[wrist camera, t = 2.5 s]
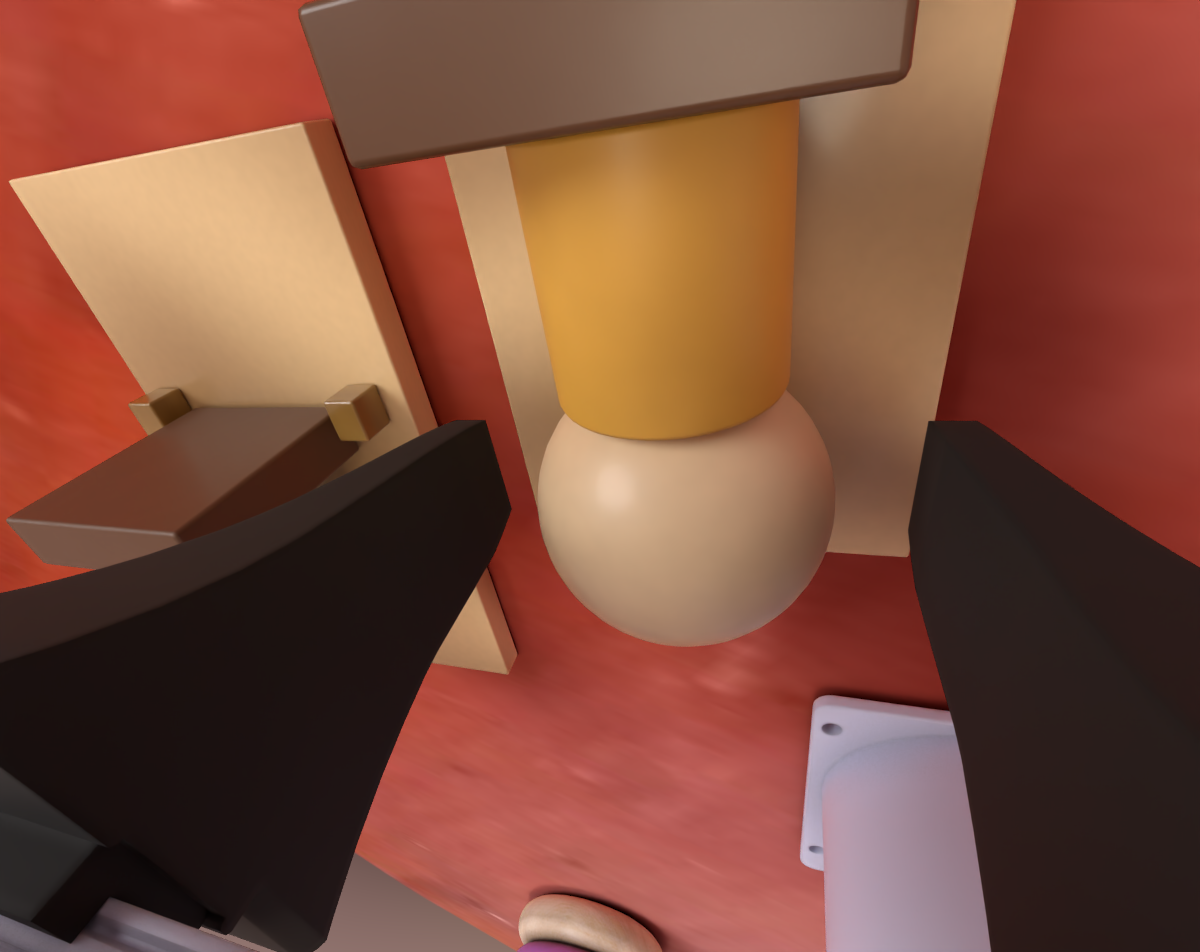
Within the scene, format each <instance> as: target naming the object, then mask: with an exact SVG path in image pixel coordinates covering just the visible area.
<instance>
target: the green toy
mask: <svg viewBox="0 0 1200 952" xmlns="http://www.w3.org/2000/svg"><path fill="white" fill-rule="evenodd" d="M358 450H359V446H358V444H357V442H356V441H342V440H340V438H339V436H338V434H337V432H336V430H335V427H334V425H333V423H332V421H331V419H330V417H329V414H328V412H327V410H326V408H325V407H268V408H195V409H193V410H191V411H190V412H188V413H186V414H185V415H183V416H181V417H179V418H178V419H176V420H174V421H173V422H171V423H169V424H167V425H166V426H164V427H162V428H161V429H159V430H157V431H155V432H154V433H152V434H150V435H149V436H147V437H145V438H143V439H142V440H140V441H138V442H137V443H135V444H133V445H131V446H130V447H128V448H126V449H125V450H123V451H121V452H119V453H118V454H116V455H114V456H113V457H111V458H109V459H107V460H106V461H104V462H102V463H101V464H99V465H97V466H95V467H94V468H92V469H90V470H89V471H87V472H85V473H83V474H82V475H80V476H78V477H77V478H75V479H73V480H71V481H70V482H68V483H66V484H65V485H63V486H61V487H59V488H58V489H56V490H54V491H53V492H51V493H49V494H47V495H46V496H44V497H42V498H41V499H39V500H37V501H36V502H34V503H32V504H30V505H29V506H27V507H25V508H24V509H22V510H20V511H18V512H17V513H15V514H13V515H12V516H10V517H8V518H7V520H6V521H7V523H8V524H9V525H10V526H11V528H12V529H13V530H14V531H15V532H16V533H17V534H18V535H19V536H20V537H21V538H22V539H23V541H24V542H25V543H26V544H27V545H28V546H29V547H30V548H31V549H32V550H33V551H34V552H35V554H36V555H37V556H38V557H39V558H40V559H41V560H42V561H43V562H44V563H47V564H54V565H62V566H71V567H79V568H87V569H96V570H97V569H101V568H104V567H108V566H111V565H114V564H118V563H121V562H125V561H128V560H132V559H135V558H138V557H142V556H145V555H148V554H151V553H154V552H157V551H160V550H163V549H166V548H169V547H172V546H174V545H177V544H180V543H183V542H186V541H189V540H192V539H195V538H198V537H201V536H204V535H207V534H210V533H213V532H215V531H218V530H221V529H223V528H226V527H229V526H231V525H234V524H236V523H239V522H241V521H244V520H246V519H249V518H251V517H254V516H256V515H259V514H261V513H263V512H266V511H268V510H270V509H273V508H275V507H277V506H280V505H282V504H284V503H286V502H289V501H291V500H293V499H295V498H297V497H299V496H301V495H303V494H306V493H308V492H310V491H312V490H314V489H316V488H317V487H318V486H319V485H320V484H321V483H322V482H324V481H325V480H326V479H327V478H328V477H329V476H330V475H331V474H332V473H334V472H335V471H336V470H337V469H338V468H339V467H340V466H341V465H343V464H344V463H345V462H346V461H347V460H348V459H349V458H350V457H352V456H353V455H354V454H355V453H356V452H357V451H358Z"/></svg>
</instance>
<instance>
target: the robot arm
mask: <svg viewBox="0 0 1200 952" xmlns="http://www.w3.org/2000/svg"><path fill="white" fill-rule="evenodd" d="M511 510H512V508H511V505H510V501H509V498H508V495H507V491H506V488H505V485H504V481H503V478H502V475H501V471H500V468H499V464H498V461H497V458H496V454H495V451H494V448H493V444H492V441H491V438H490V434H489V431H488V427H487V424H486V421H485V420H456V421H453V422H450V423H447V424H444V425H442V426H440V427H437V428H435V429H433V430H431V431H429V432H426V433H424V434H422V435H420V436H418V437H416V438H414V439H412V440H410V441H408V442H406V443H404V444H403V445H401V446H399V447H397V448H395V449H393V450H391V451H389V452H387V453H385V454H383V455H381V456H379V457H378V458H376V459H374V460H372V461H370V462H368V463H366V464H364V465H362V466H360V467H358V468H356V469H354V470H353V471H351V472H349V473H346V474H344V475H342V476H340V477H338V478H336V479H334V480H332V481H330V482H328V483H326V484H324V485H322V486H320V487H318V488H316V489H314V490H312V491H310V492H308V493H306V494H303V495H301V496H299V497H297V498H295V499H293V500H291V501H289V502H286V503H284V504H282V505H280V506H277V507H275V508H273V509H270V510H268V511H266V512H263V513H261V514H259V515H256V516H254V517H251V518H249V519H246V520H244V521H241V522H239V523H236V524H234V525H231V526H229V527H226V528H223V529H221V530H218V531H215V532H213V533H210V534H207V535H204V536H201V537H198V538H195V539H192V540H189V541H186V542H183V543H180V544H177V545H174V546H172V547H169V548H166V549H163V550H160V551H157V552H154V553H151V554H148V555H145V556H142V557H138V558H135V559H132V560H128V561H125V562H121V563H118V564H114V565H111V566H108V567H104V568H101V569H97V570H93V571H89V572H86V573H82V574H78V575H75V576H71V577H67V578H63V579H60V580H56V581H51V582H47V583H43V584H39V585H35V586H31V587H27V588H22V589H18V590H13V591H8V592H4V593H0V952H258V951H255V950H253V949H250V948H247V947H245V946H242V945H239V944H236V943H234V942H231V941H228V940H226V939H223V938H220V937H217V936H215V935H212V934H209V933H207V932H204V931H201V930H199V928H200V927H201V926H202V927H204V928H207V929H210V930H213V931H215V932H218V933H221V934H224V935H227V934H230V935H233V936H236V937H238V938H241V939H244V940H246V941H249V942H252V943H255V944H257V945H260V946H263V947H266V948H268V949H271V950H274V951H277V952H313V951H315V950H317V949H318V948H319V947H320V946H321V945H322V944H323V943H324V942H325V941H326V940H327V936H328V933H329V930H330V926H331V923H332V920H333V916H334V913H335V910H336V907H337V904H338V901H339V898H340V895H341V892H342V889H343V885H344V882H345V879H346V876H347V873H348V870H349V867H350V864H351V861H352V858H353V855H354V852H355V849H356V845H357V842H358V840H359V837H360V834H361V832H362V829H363V826H364V823H365V821H366V818H367V815H368V813H369V810H370V807H371V804H372V802H373V799H374V796H375V794H376V791H377V788H378V785H379V783H380V780H381V777H382V775H383V772H384V770H385V768H386V765H387V763H388V760H389V758H390V755H391V753H392V750H393V748H394V746H395V743H396V741H397V738H398V736H399V733H400V731H401V729H402V726H403V724H404V721H405V719H406V717H407V715H408V713H409V710H410V708H411V706H412V704H413V701H414V699H415V697H416V695H417V692H418V690H419V688H420V686H421V684H422V681H423V679H424V677H425V675H426V673H427V671H428V669H429V667H430V665H431V663H432V661H433V660H434V658H435V656H436V654H437V652H438V650H439V648H440V647H441V645H442V643H443V642H444V640H445V638H446V637H447V635H448V633H449V631H450V630H451V628H452V626H453V625H454V623H455V621H456V619H457V618H458V616H459V614H460V613H461V611H462V609H463V607H464V606H465V604H466V602H467V601H468V599H469V597H470V596H471V594H472V592H473V590H474V589H475V587H476V585H477V583H478V582H479V580H480V578H481V576H482V575H483V573H484V571H485V569H486V568H487V566H488V564H489V562H490V560H491V559H492V557H493V555H494V553H495V551H496V548H497V546H498V544H499V541H500V539H501V536H502V534H503V531H504V529H505V526H506V523H507V520H508V518H509V515H510V512H511ZM908 536H909V545H910V553H911V562H912V569H913V576H914V583H915V589H916V593H917V597H918V600H919V604H920V608H921V611H922V615H923V619H924V622H925V626H926V629H927V633H928V637H929V640H930V644H931V647H932V651H933V654H934V658H935V661H936V665H937V668H938V672H939V676H940V679H941V683H942V686H943V690H944V693H945V697H946V700H947V704H948V707H949V711H944V710H937V709H930V708H922V707H915V706H908V705H901V704H894V703H886V702H879V701H872V700H865V699H858V698H850V697H843V696H836V695H825V696H821V697H819V698H817V699H816V700H815V701H814V703H813V710H812V721H811V733H810V744H809V755H808V766H807V778H806V789H805V800H804V811H803V823H802V834H801V845H800V859H801V862H802V863H803V864H804V865H806V866H808V867H809V868H813V869H816V870H821V871H824V891H825V925H826V952H1200V567H1198V566H1196V565H1195V564H1193V563H1191V562H1189V561H1188V560H1186V559H1184V558H1182V557H1181V556H1179V555H1177V554H1175V553H1174V552H1172V551H1170V550H1169V549H1167V548H1166V547H1164V546H1162V545H1161V544H1159V543H1157V542H1156V541H1154V540H1153V539H1151V538H1149V537H1148V536H1146V535H1144V534H1143V533H1141V532H1139V531H1138V530H1136V529H1135V528H1133V527H1131V526H1130V525H1128V524H1126V523H1125V522H1123V521H1122V520H1120V519H1119V518H1117V517H1115V516H1114V515H1112V514H1111V513H1109V512H1108V511H1106V510H1105V509H1103V508H1102V507H1100V506H1099V505H1097V504H1096V503H1094V502H1093V501H1091V500H1090V499H1088V498H1087V497H1085V496H1084V495H1082V494H1081V493H1079V492H1078V491H1076V490H1075V489H1074V488H1072V487H1071V486H1069V485H1068V484H1066V483H1065V482H1063V481H1062V480H1061V479H1059V478H1058V477H1056V476H1055V475H1053V474H1052V473H1051V472H1049V471H1048V470H1046V469H1045V468H1044V467H1042V466H1041V465H1039V464H1038V463H1037V462H1035V461H1034V460H1033V459H1031V458H1030V457H1028V456H1027V455H1026V454H1024V453H1023V452H1022V451H1020V450H1019V449H1017V448H1016V447H1015V446H1013V445H1012V444H1010V443H1009V442H1008V441H1006V440H1005V439H1003V438H1002V437H1001V436H999V435H998V434H996V433H995V432H994V431H992V430H991V429H989V428H988V427H986V426H985V425H983V424H981V423H980V422H978V421H928V426H927V431H926V436H925V442H924V447H923V452H922V457H921V463H920V468H919V473H918V479H917V484H916V489H915V495H914V500H913V505H912V511H911V516H910V521H909V526H908Z"/></svg>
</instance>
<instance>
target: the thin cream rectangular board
mask: <svg viewBox="0 0 1200 952" xmlns="http://www.w3.org/2000/svg"><path fill="white" fill-rule="evenodd" d="M9 183H10V185H11V186H12V188H13V189H14V191H15V192H16V194H17V195H18V197H19V199H20V200H21V202H22V203H23V205H24V206H25V208H26V209H27V211H28V212H29V214H30V216H31V217H32V219H33V220H34V222H35V223H36V225H37V226H38V228H39V229H40V231H41V233H42V234H43V236H44V237H45V239H46V240H47V242H48V243H49V245H50V247H51V248H52V250H53V251H54V253H55V254H56V256H57V257H58V259H59V260H60V262H61V264H62V265H63V267H64V268H65V270H66V271H67V273H68V274H69V276H70V277H71V279H72V281H73V282H74V284H75V285H76V287H77V288H78V290H79V291H80V293H81V294H82V296H83V298H84V299H85V301H86V302H87V304H88V305H89V307H90V308H91V310H92V312H93V313H94V315H95V316H96V318H97V319H98V321H99V322H100V324H101V325H102V327H103V329H104V330H105V332H106V333H107V335H108V336H109V338H110V339H111V341H112V342H113V344H114V346H115V347H116V349H117V350H118V352H119V353H120V355H121V356H122V358H123V359H124V361H125V363H126V364H127V366H128V367H129V369H130V370H131V372H132V373H133V375H134V377H135V378H136V380H137V381H138V383H139V384H140V386H141V387H142V389H143V390H144V392H145V394H146V395H144V396H142V397H140V398H138V399H136V400H134V401H132V402H130V403H129V404H128V406H129V408H130V409H131V411H132V412H133V414H134V415H135V417H136V418H137V419H138V421H139V422H140V424H141V425H142V427H143V428H144V430H145V431H146V433H147V434H148V436H149V435H150V434H152V433H154V432H155V431H157V430H159V429H161V428H162V427H164V426H166V425H167V424H169V423H171V422H173V421H174V420H176V419H178V418H179V417H181V416H183V415H185V414H186V413H188V412H190V411H191V410H193V409H195V408H268V407H325V408H326V410H327V412H328V414H329V417H330V419H331V421H332V423H333V425H334V427H335V430H336V432H337V434H338V436H339V438H340V440H342V441H356V442H357V444H358V446H359V450H358V451H357V452H356V453H355V454H354V455H353V456H352V457H350V458H349V459H348V460H347V461H346V462H345V463H344V464H343V465H341V466H340V467H339V468H338V469H337V470H336V471H335V472H334V473H332V474H331V475H330V476H329V477H328V478H327V479H326V480H325V481H324V482H322V483H321V484H320V485H319V486H318V487H320V486H322V485H324V484H326V483H328V482H330V481H332V480H334V479H336V478H338V477H340V476H342V475H344V474H346V473H349V472H351V471H353V470H354V469H356V468H358V467H360V466H362V465H364V464H366V463H368V462H370V461H372V460H374V459H376V458H378V457H379V456H381V455H383V454H385V453H387V452H389V451H391V450H393V449H395V448H397V447H399V446H401V445H403V444H404V443H406V442H408V441H410V440H412V439H414V438H416V437H418V436H420V435H422V434H424V433H426V432H429V431H431V430H433V429H435V428H437V427H438V425H437V422H436V419H435V417H434V414H433V411H432V408H431V405H430V402H429V399H428V397H427V394H426V391H425V388H424V385H423V382H422V379H421V376H420V374H419V371H418V368H417V365H416V362H415V359H414V356H413V354H412V351H411V348H410V345H409V342H408V339H407V336H406V334H405V331H404V328H403V325H402V322H401V319H400V316H399V313H398V311H397V308H396V305H395V302H394V299H393V296H392V293H391V291H390V288H389V285H388V282H387V279H386V276H385V273H384V270H383V268H382V265H381V262H380V259H379V256H378V253H377V250H376V248H375V245H374V242H373V239H372V236H371V233H370V230H369V227H368V225H367V222H366V219H365V216H364V213H363V210H362V207H361V205H360V202H359V199H358V196H357V193H356V190H355V187H354V185H353V182H352V179H351V176H350V173H349V170H348V167H347V164H346V162H345V159H344V156H343V153H342V150H341V147H340V144H339V142H338V139H337V136H336V133H335V130H334V127H333V124H332V122H331V120H330V119H321V120H314V121H306V122H299V123H294V124H289V125H284V126H279V127H274V128H269V129H264V130H259V131H254V132H249V133H244V134H239V135H234V136H229V137H224V138H219V139H214V140H209V141H204V142H199V143H194V144H189V145H184V146H179V147H174V148H169V149H164V150H158V151H153V152H148V153H143V154H138V155H133V156H128V157H123V158H118V159H113V160H108V161H103V162H98V163H93V164H88V165H83V166H78V167H73V168H68V169H63V170H58V171H53V172H48V173H43V174H38V175H33V176H28V177H23V178H18V179H12V180H10V181H9ZM318 487H317V488H318ZM516 657H517V652H516V649H515V646H514V643H513V640H512V637H511V634H510V631H509V629H508V626H507V623H506V620H505V617H504V614H503V611H502V609H501V606H500V603H499V600H498V597H497V594H496V591H495V589H494V586H493V583H492V580H491V577H490V574H489V571H488V568H486V569H485V571H484V573H483V575H482V576H481V578H480V580H479V582H478V583H477V585H476V587H475V589H474V590H473V592H472V594H471V596H470V597H469V599H468V601H467V602H466V604H465V606H464V607H463V609H462V611H461V613H460V614H459V616H458V618H457V619H456V621H455V623H454V625H453V626H452V628H451V630H450V631H449V633H448V635H447V637H446V638H445V640H444V642H443V643H442V645H441V647H440V648H439V650H438V652H437V654H436V656H435V658H434V660H433V661H432V663H436V664H443V665H449V666H456V667H462V668H469V669H475V670H482V671H488V672H495V673H501V674H509V672H510V670H511V668H512V666H513V664H514V661H515V659H516Z"/></svg>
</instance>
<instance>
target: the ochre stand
mask: <svg viewBox="0 0 1200 952" xmlns="http://www.w3.org/2000/svg"><path fill="white" fill-rule="evenodd" d="M1015 5H1016V0H919V8H918V16H917V25H916V33H915V41H914V49H913V57H912V66H911V68H910V70H909V72H908V74H907V76H906V78H904V79H903V80H901V81H899V82H897V83H896V84H890V85H884V86H878V87H871V88H865V89H859V90H853V91H846V92H840V93H834V94H828V95H822V96H815V97H809V98H803V99H800V107H799V136H798V165H797V193H796V222H795V251H794V279H793V308H792V337H791V365H790V379H789V384H788V386H787V388H786V390H787V391H788V392H789V393H790V394H791V395H792V396H793V397H794V398H795V399H796V400H797V401H798V402H799V403H800V404H801V406H802V407H803V408H804V410H805V411H806V412H807V414H808V415H809V416H810V418H811V419H812V421H813V423H814V424H815V426H816V428H817V430H818V432H819V434H820V436H821V438H822V440H823V442H824V444H825V446H826V449H827V452H828V455H829V458H830V461H831V466H832V471H833V477H834V483H835V518H834V524H833V529H832V534H831V538H830V541H829V545H828V548H827V550H826V552H835V553H850V554H864V555H879V556H894V557H908V555H909V551H910V545H909V536H908V526H909V521H910V516H911V511H912V505H913V500H914V495H915V489H916V484H917V479H918V473H919V468H920V463H921V457H922V452H923V447H924V442H925V436H926V431H927V426H928V421H935V417H936V412H937V407H938V402H939V397H940V392H941V387H942V381H943V376H944V371H945V366H946V361H947V356H948V351H949V345H950V340H951V335H952V330H953V325H954V320H955V314H956V309H957V304H958V299H959V294H960V289H961V284H962V278H963V273H964V268H965V263H966V258H967V253H968V247H969V242H970V237H971V232H972V227H973V222H974V217H975V211H976V206H977V201H978V196H979V191H980V186H981V181H982V175H983V170H984V165H985V160H986V155H987V150H988V144H989V139H990V134H991V129H992V124H993V119H994V114H995V108H996V103H997V98H998V93H999V88H1000V83H1001V78H1002V72H1003V67H1004V62H1005V57H1006V52H1007V47H1008V41H1009V36H1010V31H1011V26H1012V21H1013V16H1014V11H1015ZM505 147H506V146H503V147H497V148H491V149H485V150H478V151H472V152H466V153H460V154H453V155H447V156H445V160H446V163H447V167H448V171H449V175H450V179H451V182H452V186H453V190H454V194H455V198H456V201H457V205H458V209H459V213H460V217H461V220H462V224H463V228H464V232H465V235H466V239H467V243H468V247H469V251H470V254H471V258H472V262H473V266H474V270H475V273H476V277H477V281H478V285H479V289H480V292H481V296H482V300H483V304H484V308H485V311H486V315H487V319H488V323H489V327H490V330H491V334H492V338H493V342H494V345H495V349H496V353H497V357H498V361H499V364H500V368H501V372H502V376H503V380H504V383H505V387H506V391H507V395H508V399H509V402H510V406H511V410H512V414H513V418H514V421H515V425H516V429H517V433H518V437H519V440H520V444H521V448H522V452H523V455H524V459H525V463H526V467H527V471H528V474H529V478H530V482H531V486H532V490H533V493H534V497H535V501H536V505H537V509H538V499H537V496H538V482H539V474H540V469H541V465H542V461H543V458H544V454H545V451H546V448H547V445H548V443H549V441H550V439H551V437H552V434H553V432H554V430H555V429H556V427H557V425H558V423H559V421H560V419H561V418H562V417H563V415H564V414H565V412H564V411H563V409H562V407H561V406H560V402H559V399H558V394H557V389H556V384H555V380H554V375H553V370H552V365H551V361H550V356H549V351H548V347H547V342H546V337H545V332H544V328H543V323H542V318H541V313H540V309H539V304H538V299H537V295H536V290H535V285H534V280H533V276H532V271H531V266H530V261H529V257H528V252H527V247H526V243H525V238H524V233H523V228H522V224H521V219H520V214H519V209H518V205H517V200H516V195H515V190H514V186H513V181H512V176H511V172H510V167H509V162H508V157H507V153H506V148H505Z"/></svg>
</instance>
